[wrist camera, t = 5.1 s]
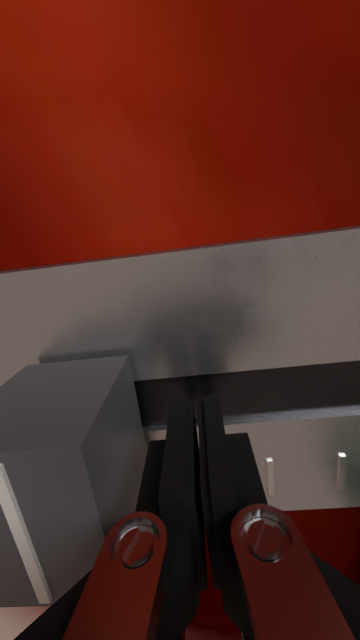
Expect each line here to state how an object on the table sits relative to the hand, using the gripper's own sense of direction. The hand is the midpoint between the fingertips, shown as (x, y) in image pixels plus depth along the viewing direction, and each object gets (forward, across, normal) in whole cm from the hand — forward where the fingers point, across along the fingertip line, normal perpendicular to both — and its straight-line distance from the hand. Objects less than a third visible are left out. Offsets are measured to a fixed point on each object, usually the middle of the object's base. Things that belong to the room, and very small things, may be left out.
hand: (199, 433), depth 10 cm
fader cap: (+1, +4, 0) cm, 5 cm away
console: (+4, 0, 0) cm, 4 cm away
